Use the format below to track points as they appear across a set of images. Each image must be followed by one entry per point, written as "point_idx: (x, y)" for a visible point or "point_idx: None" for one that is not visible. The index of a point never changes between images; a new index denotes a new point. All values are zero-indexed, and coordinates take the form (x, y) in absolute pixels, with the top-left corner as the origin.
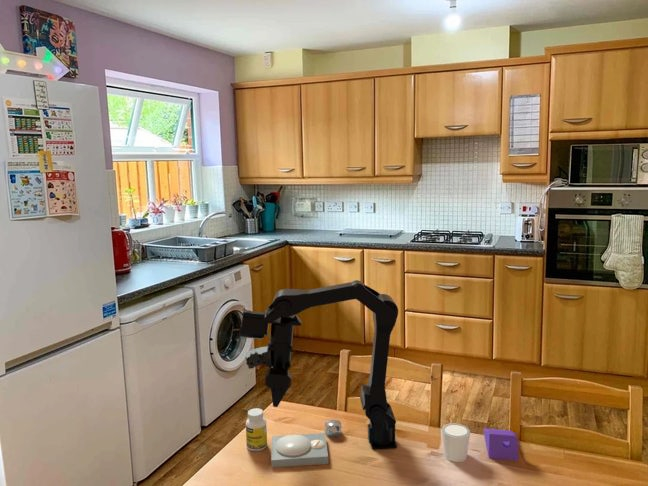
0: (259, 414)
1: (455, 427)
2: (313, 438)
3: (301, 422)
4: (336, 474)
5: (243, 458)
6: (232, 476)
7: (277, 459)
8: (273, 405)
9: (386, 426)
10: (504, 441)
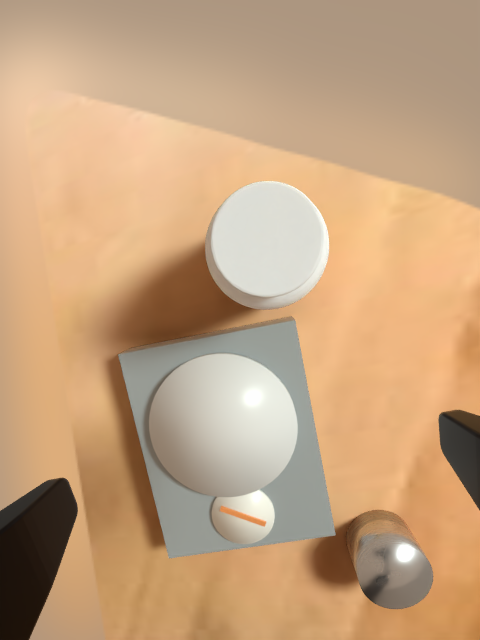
0: (232, 280)
1: None
2: (288, 495)
3: (465, 407)
4: (123, 562)
5: (174, 226)
6: (61, 218)
7: (124, 378)
8: (38, 491)
9: None
10: None
